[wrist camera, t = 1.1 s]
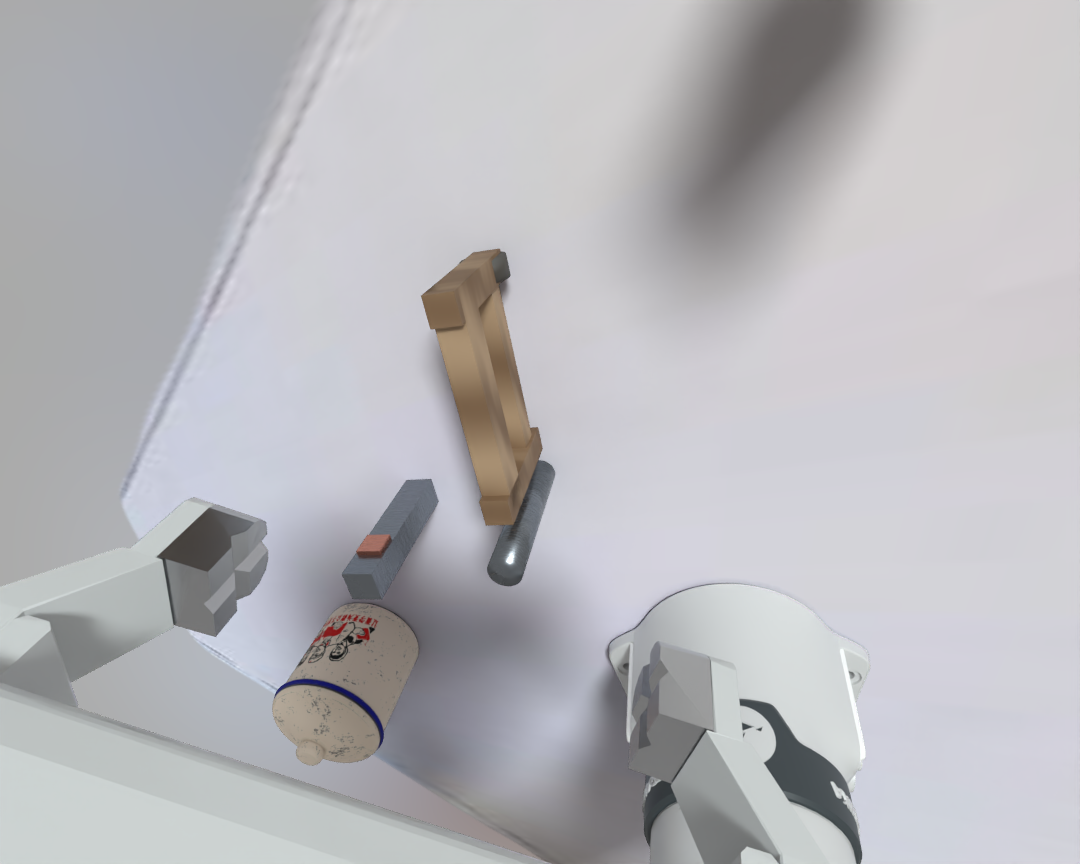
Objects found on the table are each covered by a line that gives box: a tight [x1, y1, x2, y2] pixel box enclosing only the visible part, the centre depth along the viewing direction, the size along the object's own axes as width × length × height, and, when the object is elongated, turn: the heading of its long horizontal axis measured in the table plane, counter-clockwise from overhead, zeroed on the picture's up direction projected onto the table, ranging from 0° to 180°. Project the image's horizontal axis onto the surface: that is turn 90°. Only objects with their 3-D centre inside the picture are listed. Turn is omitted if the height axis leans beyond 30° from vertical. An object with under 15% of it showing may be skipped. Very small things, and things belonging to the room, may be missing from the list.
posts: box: [342, 461, 555, 599], centre depth 39 cm, size 3×11×10 cm, turn 101°
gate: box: [421, 249, 543, 525], centre depth 34 cm, size 13×3×8 cm, turn 11°
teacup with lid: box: [272, 603, 419, 766], centre depth 50 cm, size 12×9×12 cm
